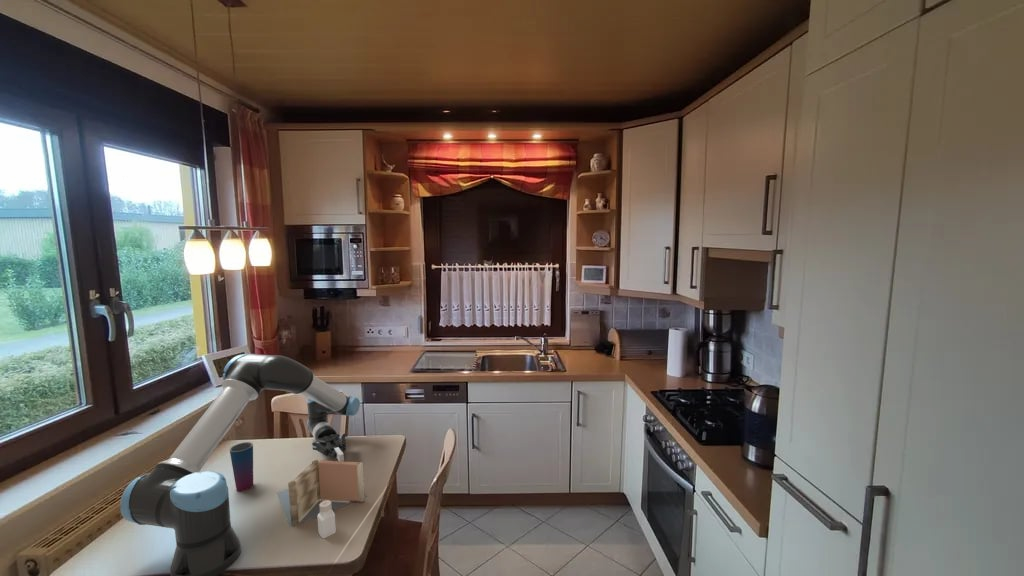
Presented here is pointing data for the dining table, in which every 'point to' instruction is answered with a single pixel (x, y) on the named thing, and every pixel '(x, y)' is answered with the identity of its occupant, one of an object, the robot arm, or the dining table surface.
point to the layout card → (313, 510)
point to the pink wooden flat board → (341, 480)
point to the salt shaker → (326, 519)
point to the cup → (242, 465)
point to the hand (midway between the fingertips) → (341, 458)
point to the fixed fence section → (304, 492)
